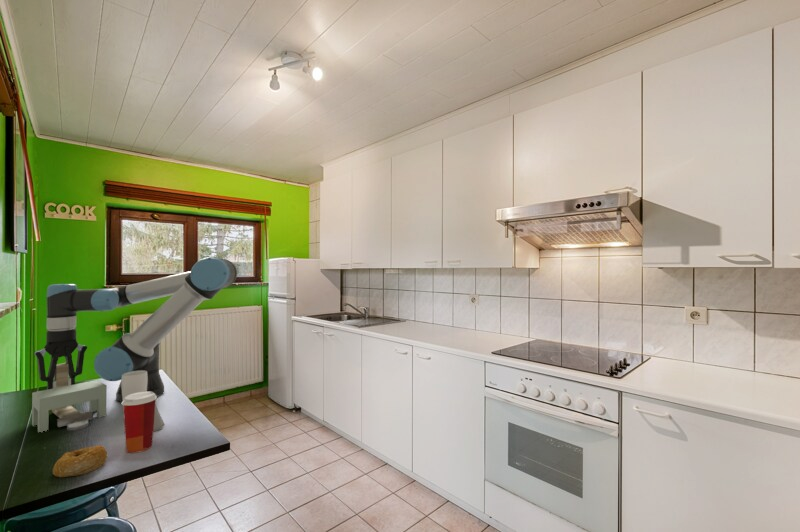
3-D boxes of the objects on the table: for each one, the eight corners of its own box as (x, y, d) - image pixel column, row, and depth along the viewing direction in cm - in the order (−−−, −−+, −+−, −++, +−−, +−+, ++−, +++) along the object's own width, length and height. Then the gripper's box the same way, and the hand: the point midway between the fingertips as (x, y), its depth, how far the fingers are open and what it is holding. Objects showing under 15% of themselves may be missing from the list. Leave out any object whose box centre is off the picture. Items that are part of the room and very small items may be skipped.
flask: (153, 434, 106) (153, 399, 106) (128, 434, 106) (129, 399, 107) (169, 424, 113) (169, 391, 114) (147, 424, 114) (147, 391, 114)
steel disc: (91, 423, 115) (91, 416, 115) (84, 429, 110) (85, 422, 111) (70, 426, 113) (71, 419, 113) (63, 432, 109) (63, 425, 109)
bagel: (107, 453, 96) (107, 434, 96) (107, 470, 87) (107, 450, 87) (55, 465, 90) (55, 446, 90) (49, 486, 81) (49, 464, 81)
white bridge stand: (31, 424, 114) (32, 392, 114) (96, 409, 127) (96, 380, 127) (39, 432, 108) (39, 398, 108) (106, 415, 121) (106, 385, 121)
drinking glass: (117, 425, 112) (117, 376, 113) (126, 417, 119) (127, 371, 119) (142, 423, 114) (142, 375, 115) (150, 415, 121) (151, 369, 121)
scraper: (43, 413, 122) (44, 366, 122) (75, 406, 128) (75, 361, 128) (58, 427, 110) (59, 375, 110) (92, 418, 117) (92, 369, 117)
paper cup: (151, 438, 104) (151, 388, 104) (160, 446, 99) (161, 394, 99) (117, 449, 97) (117, 396, 98) (125, 458, 93) (126, 402, 93)
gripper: (88, 325, 133) (88, 390, 133) (26, 331, 120) (25, 403, 120) (95, 327, 129) (94, 394, 128) (30, 333, 116) (30, 408, 115)
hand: (61, 398), depth 124 cm, fingers closed on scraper, 3 cm apart
